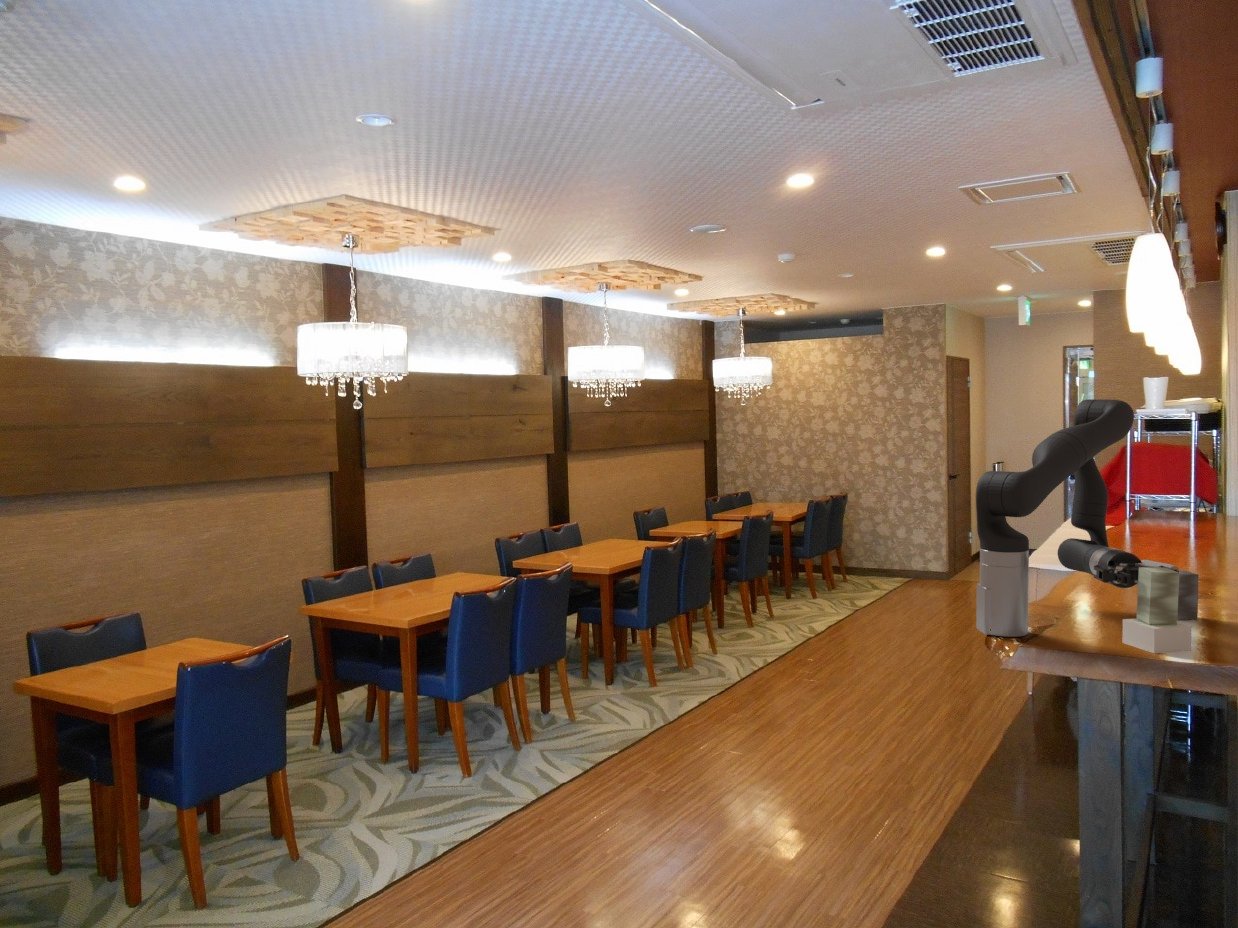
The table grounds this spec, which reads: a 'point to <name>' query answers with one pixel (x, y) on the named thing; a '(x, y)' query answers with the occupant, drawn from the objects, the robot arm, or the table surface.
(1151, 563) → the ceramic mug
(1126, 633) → the cream base block
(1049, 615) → the table surface
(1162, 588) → the sage pillar
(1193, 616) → the slate pillar
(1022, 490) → the robot arm
